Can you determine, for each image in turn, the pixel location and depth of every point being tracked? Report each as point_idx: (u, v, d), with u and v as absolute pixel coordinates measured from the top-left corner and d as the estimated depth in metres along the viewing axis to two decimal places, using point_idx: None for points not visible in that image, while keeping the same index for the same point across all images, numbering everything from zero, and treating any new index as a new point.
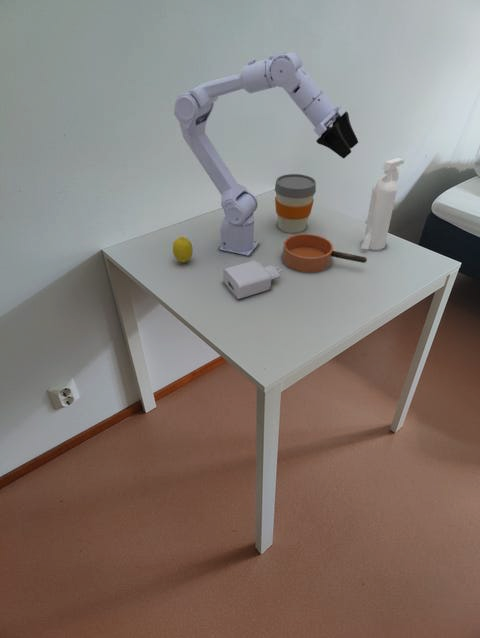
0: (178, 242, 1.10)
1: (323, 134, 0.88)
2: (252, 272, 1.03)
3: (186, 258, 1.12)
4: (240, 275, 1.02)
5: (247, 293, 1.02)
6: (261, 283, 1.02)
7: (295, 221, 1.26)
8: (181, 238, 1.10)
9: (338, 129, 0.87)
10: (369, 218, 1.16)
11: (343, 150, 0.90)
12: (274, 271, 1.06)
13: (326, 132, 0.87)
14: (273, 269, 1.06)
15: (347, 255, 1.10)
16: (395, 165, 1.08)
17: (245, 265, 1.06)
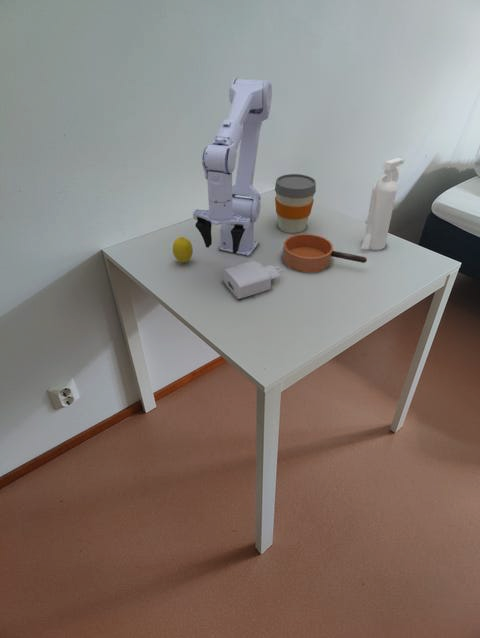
0: (178, 242, 1.10)
1: None
2: (252, 272, 1.03)
3: (186, 258, 1.12)
4: (240, 275, 1.02)
5: (247, 293, 1.02)
6: (261, 283, 1.02)
7: (295, 221, 1.26)
8: (181, 238, 1.10)
9: (200, 229, 1.01)
10: (369, 218, 1.16)
11: None
12: (274, 271, 1.06)
13: None
14: (273, 269, 1.06)
15: (347, 255, 1.10)
16: (395, 165, 1.08)
17: (245, 265, 1.06)
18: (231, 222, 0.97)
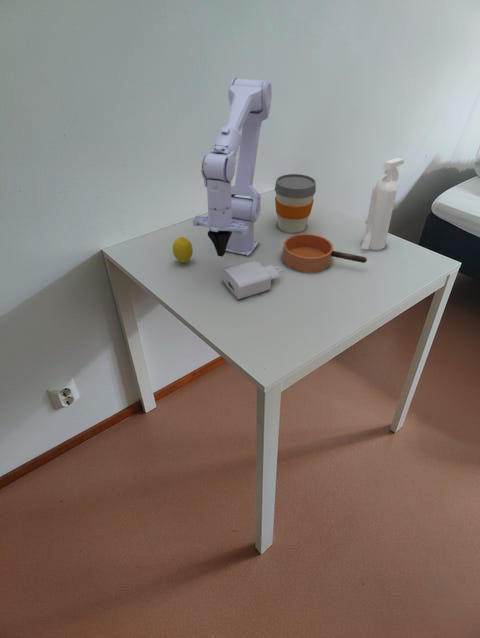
0: (178, 242, 1.10)
1: None
2: (252, 272, 1.03)
3: (186, 258, 1.12)
4: (240, 275, 1.02)
5: (247, 293, 1.02)
6: (261, 283, 1.02)
7: (295, 221, 1.26)
8: (181, 238, 1.10)
9: (212, 238, 1.01)
10: (369, 218, 1.16)
11: None
12: (274, 271, 1.06)
13: None
14: (273, 269, 1.06)
15: (347, 255, 1.10)
16: (395, 165, 1.08)
17: (245, 265, 1.06)
18: (230, 229, 0.98)
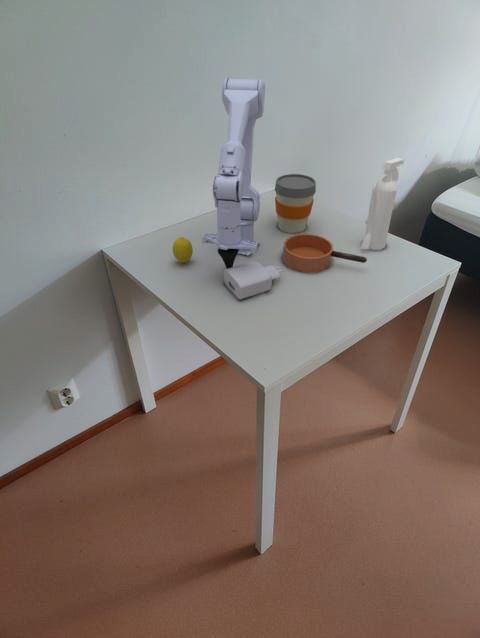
0: (178, 242, 1.10)
1: None
2: (253, 272, 1.03)
3: (186, 258, 1.12)
4: (241, 275, 1.02)
5: (248, 294, 1.01)
6: (262, 283, 1.02)
7: (295, 221, 1.26)
8: (181, 238, 1.10)
9: (222, 255, 1.03)
10: (369, 218, 1.16)
11: None
12: (275, 271, 1.06)
13: None
14: (274, 269, 1.06)
15: (347, 255, 1.10)
16: (395, 165, 1.08)
17: (246, 265, 1.05)
18: (239, 247, 1.00)
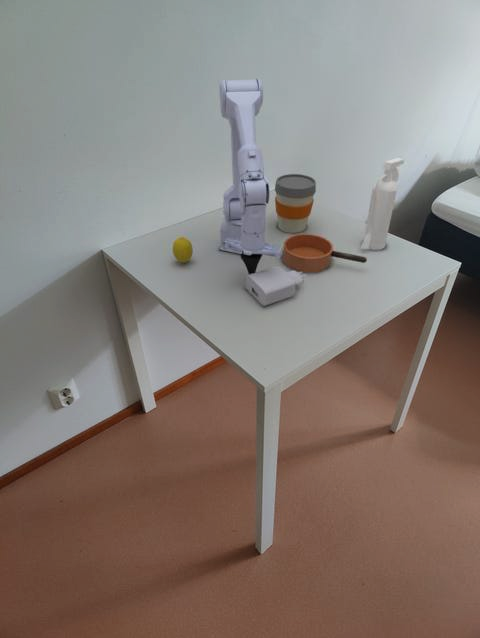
0: (178, 242, 1.10)
1: None
2: (276, 278, 1.01)
3: (186, 258, 1.12)
4: (265, 281, 1.00)
5: (272, 300, 0.99)
6: (286, 289, 1.00)
7: (295, 221, 1.26)
8: (181, 238, 1.10)
9: (245, 260, 1.02)
10: (369, 218, 1.16)
11: None
12: (298, 276, 1.04)
13: None
14: (296, 274, 1.04)
15: (347, 255, 1.10)
16: (395, 165, 1.08)
17: (268, 271, 1.03)
18: (263, 252, 0.98)
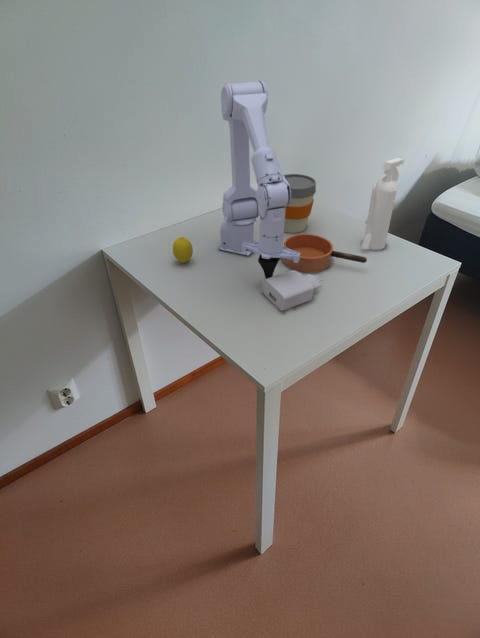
0: (178, 242, 1.10)
1: None
2: (294, 282, 0.99)
3: (186, 258, 1.12)
4: (283, 286, 0.98)
5: (291, 305, 0.98)
6: (305, 293, 0.98)
7: (295, 221, 1.26)
8: (181, 238, 1.10)
9: (262, 264, 1.00)
10: (369, 218, 1.16)
11: None
12: (315, 280, 1.03)
13: None
14: (314, 278, 1.03)
15: (347, 255, 1.10)
16: (395, 165, 1.08)
17: (285, 275, 1.02)
18: (282, 256, 0.97)
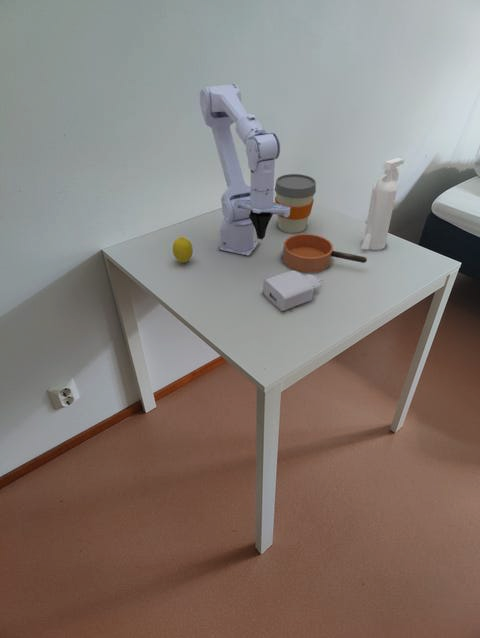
0: (178, 242, 1.10)
1: None
2: (295, 282, 0.99)
3: (186, 258, 1.12)
4: (283, 286, 0.98)
5: (291, 305, 0.98)
6: (305, 293, 0.98)
7: (295, 221, 1.26)
8: (181, 238, 1.10)
9: (253, 220, 1.03)
10: (369, 218, 1.16)
11: None
12: (315, 280, 1.03)
13: None
14: (314, 278, 1.03)
15: (347, 255, 1.10)
16: (395, 165, 1.08)
17: (285, 275, 1.02)
18: (272, 210, 1.00)
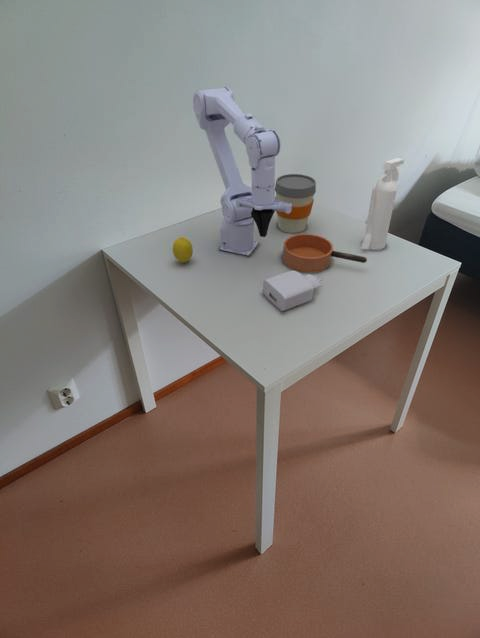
0: (178, 242, 1.10)
1: None
2: (295, 282, 0.99)
3: (186, 258, 1.12)
4: (283, 286, 0.98)
5: (291, 305, 0.98)
6: (305, 293, 0.98)
7: (295, 221, 1.26)
8: (181, 238, 1.10)
9: (255, 218, 1.04)
10: (369, 218, 1.16)
11: None
12: (315, 280, 1.03)
13: None
14: (314, 278, 1.03)
15: (347, 255, 1.10)
16: (395, 165, 1.08)
17: (285, 275, 1.02)
18: (274, 207, 1.00)
